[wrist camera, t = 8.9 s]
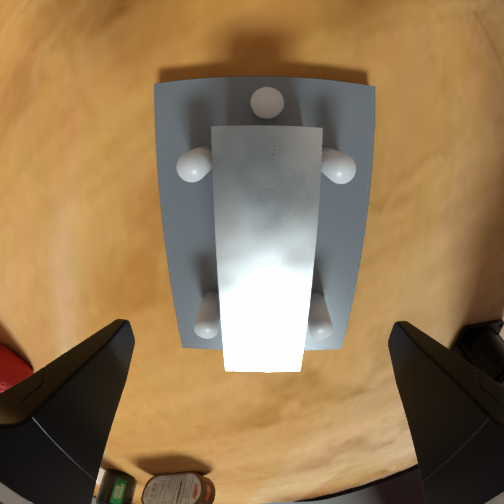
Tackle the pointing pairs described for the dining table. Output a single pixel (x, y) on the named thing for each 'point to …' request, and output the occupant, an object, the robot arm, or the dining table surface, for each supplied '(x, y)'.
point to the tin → (178, 489)
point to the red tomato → (12, 369)
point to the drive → (265, 240)
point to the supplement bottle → (116, 488)
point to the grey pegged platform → (202, 203)
